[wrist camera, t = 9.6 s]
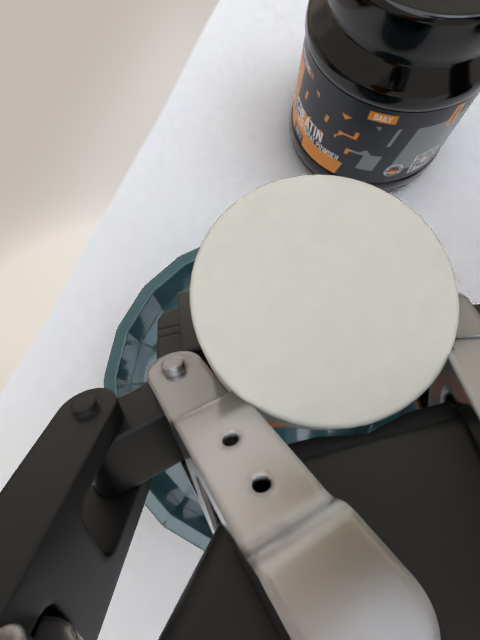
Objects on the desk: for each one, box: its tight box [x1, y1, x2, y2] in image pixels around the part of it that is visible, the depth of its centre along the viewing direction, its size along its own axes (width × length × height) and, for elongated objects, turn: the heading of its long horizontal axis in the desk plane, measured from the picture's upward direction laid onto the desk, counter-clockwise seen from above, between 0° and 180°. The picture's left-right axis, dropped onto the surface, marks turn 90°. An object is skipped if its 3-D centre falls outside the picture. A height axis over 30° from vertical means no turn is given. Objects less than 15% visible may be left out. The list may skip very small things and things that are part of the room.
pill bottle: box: [190, 175, 459, 430], centre depth 12 cm, size 5×5×10 cm
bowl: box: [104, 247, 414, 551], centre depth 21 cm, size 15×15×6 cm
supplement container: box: [290, 0, 480, 191], centre depth 23 cm, size 10×10×12 cm
